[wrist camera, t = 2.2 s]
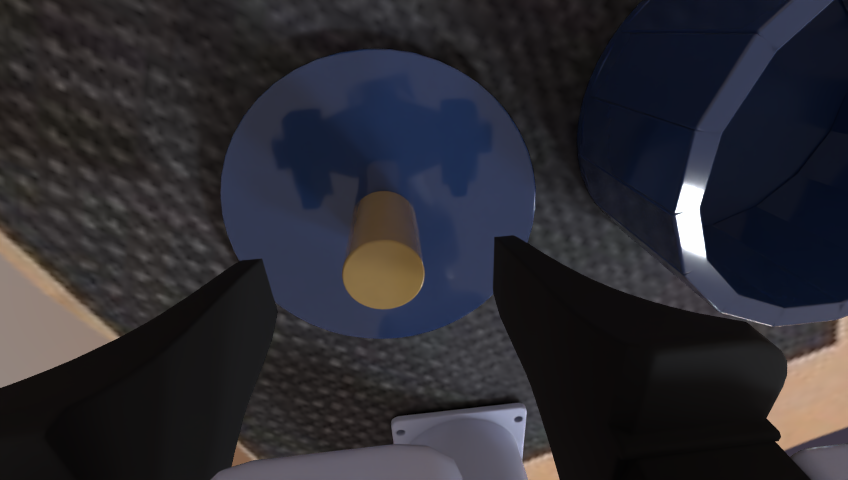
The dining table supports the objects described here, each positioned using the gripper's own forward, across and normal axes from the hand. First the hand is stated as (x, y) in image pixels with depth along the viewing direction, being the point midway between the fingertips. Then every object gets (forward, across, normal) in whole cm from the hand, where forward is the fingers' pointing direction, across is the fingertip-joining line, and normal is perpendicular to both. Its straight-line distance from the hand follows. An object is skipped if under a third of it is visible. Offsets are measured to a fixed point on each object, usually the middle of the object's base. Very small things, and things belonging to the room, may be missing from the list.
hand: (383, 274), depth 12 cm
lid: (+5, 0, 0) cm, 5 cm away
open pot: (+5, -14, -3) cm, 15 cm away
